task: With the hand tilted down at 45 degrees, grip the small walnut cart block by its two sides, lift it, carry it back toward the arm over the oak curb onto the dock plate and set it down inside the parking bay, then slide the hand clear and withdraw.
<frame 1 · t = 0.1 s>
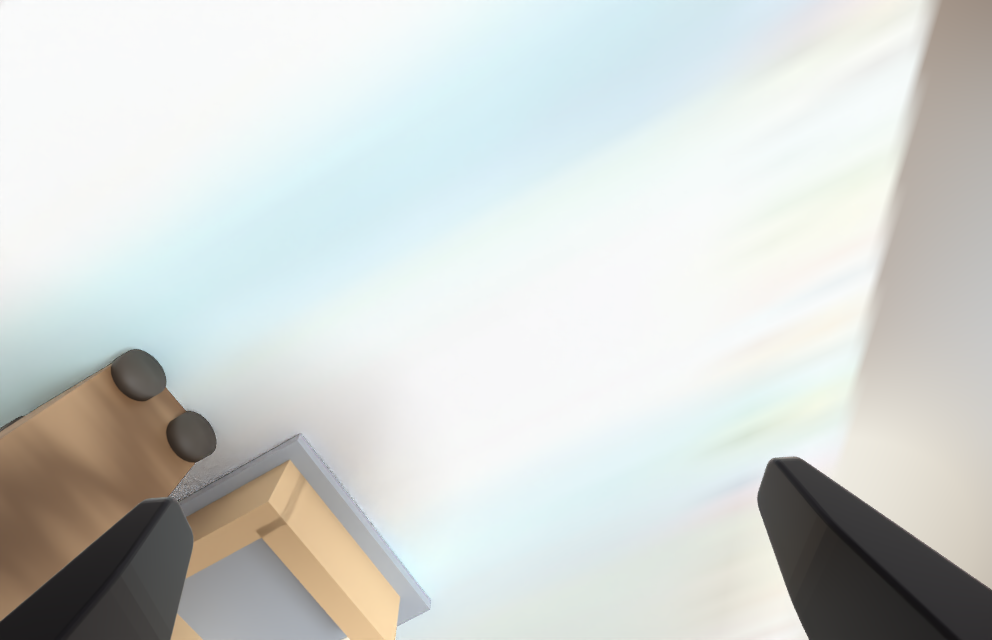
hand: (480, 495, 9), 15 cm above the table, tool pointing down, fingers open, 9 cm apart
dock: (305, 625, 29), on the table
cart: (126, 424, 25), on the table
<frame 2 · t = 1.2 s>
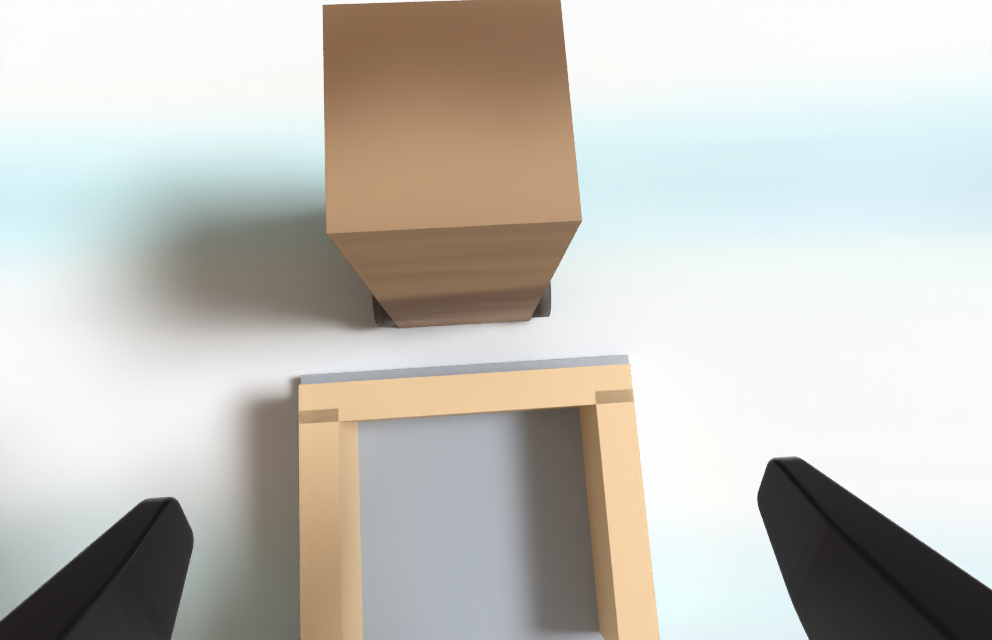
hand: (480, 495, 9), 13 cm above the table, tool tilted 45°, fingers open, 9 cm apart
dock: (481, 617, 20), on the table
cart: (460, 261, 23), on the table
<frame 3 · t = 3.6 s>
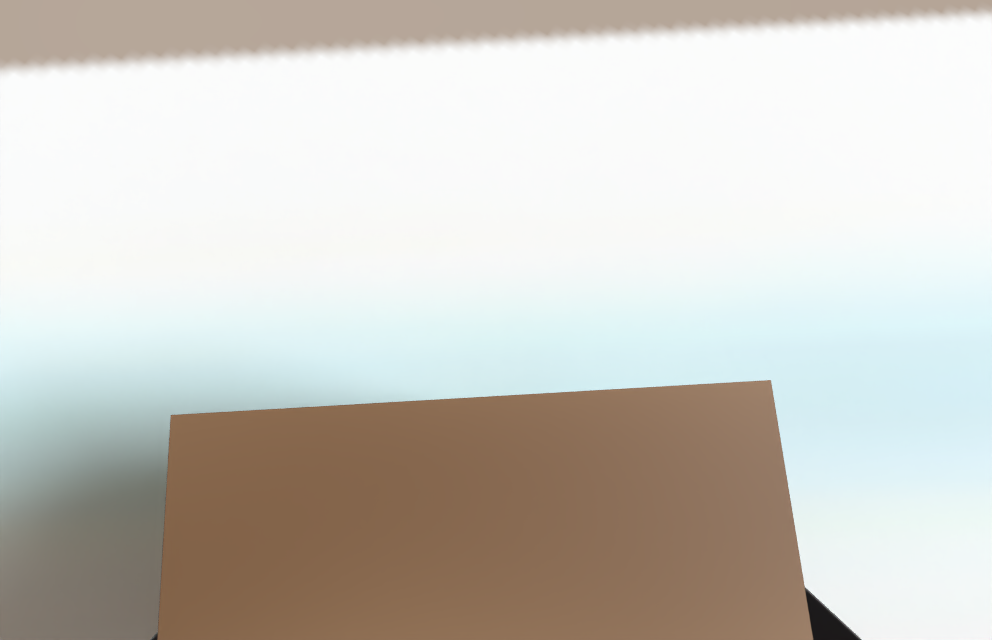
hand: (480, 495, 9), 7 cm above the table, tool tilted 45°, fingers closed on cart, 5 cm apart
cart: (481, 530, 15), on the table, touching gripper
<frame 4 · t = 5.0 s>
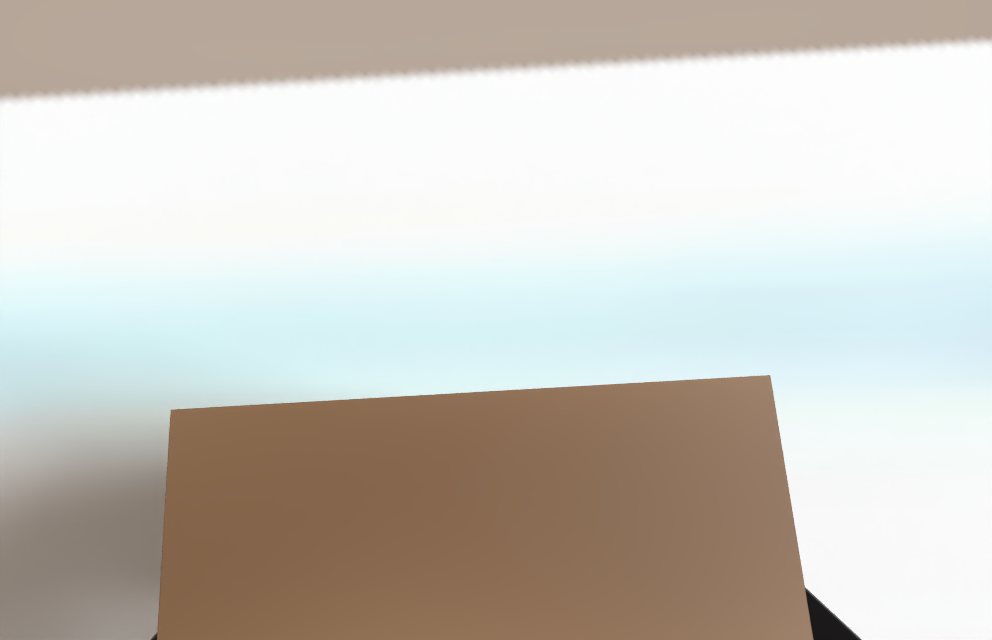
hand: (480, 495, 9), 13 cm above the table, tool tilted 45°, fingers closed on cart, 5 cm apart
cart: (481, 529, 15), point 6 cm above the table, touching gripper
when the fingers open (7 cm above the table, at t = 6.9 s): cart stays where it is, resting on dock.
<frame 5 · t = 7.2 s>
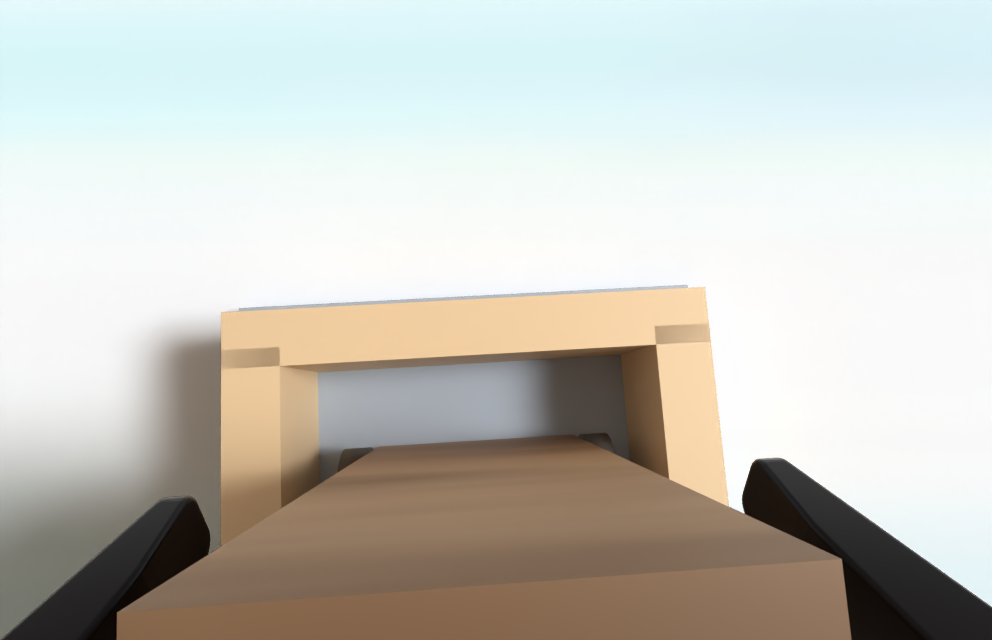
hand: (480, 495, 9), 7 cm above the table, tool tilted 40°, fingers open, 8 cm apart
dock: (485, 635, 15), on the table
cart: (481, 540, 15), point 1 cm above the table, touching dock
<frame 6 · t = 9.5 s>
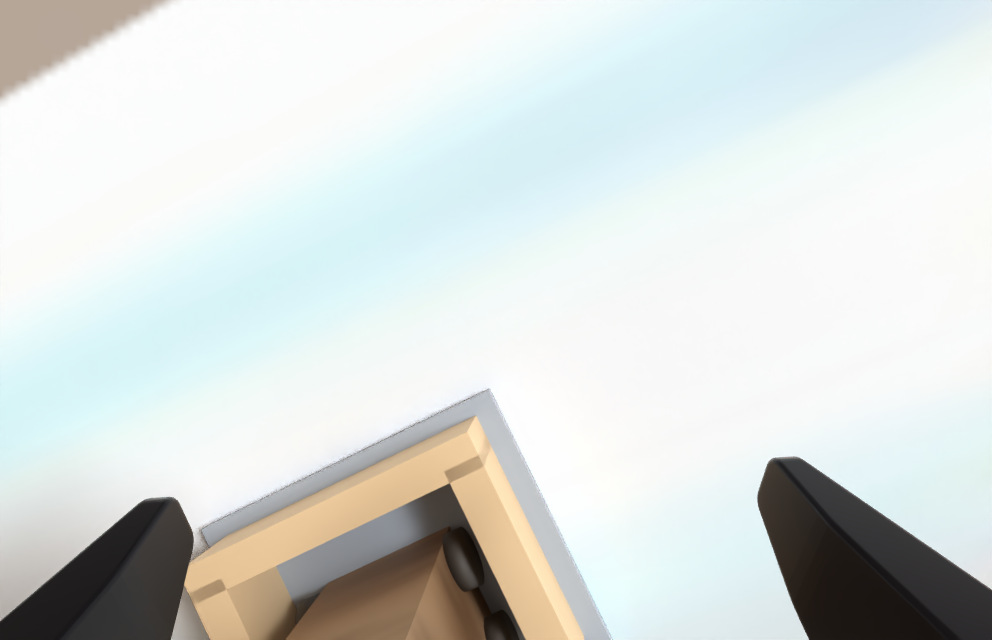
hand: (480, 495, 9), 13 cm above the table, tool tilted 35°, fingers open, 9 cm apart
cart: (418, 616, 21), point 1 cm above the table, touching dock
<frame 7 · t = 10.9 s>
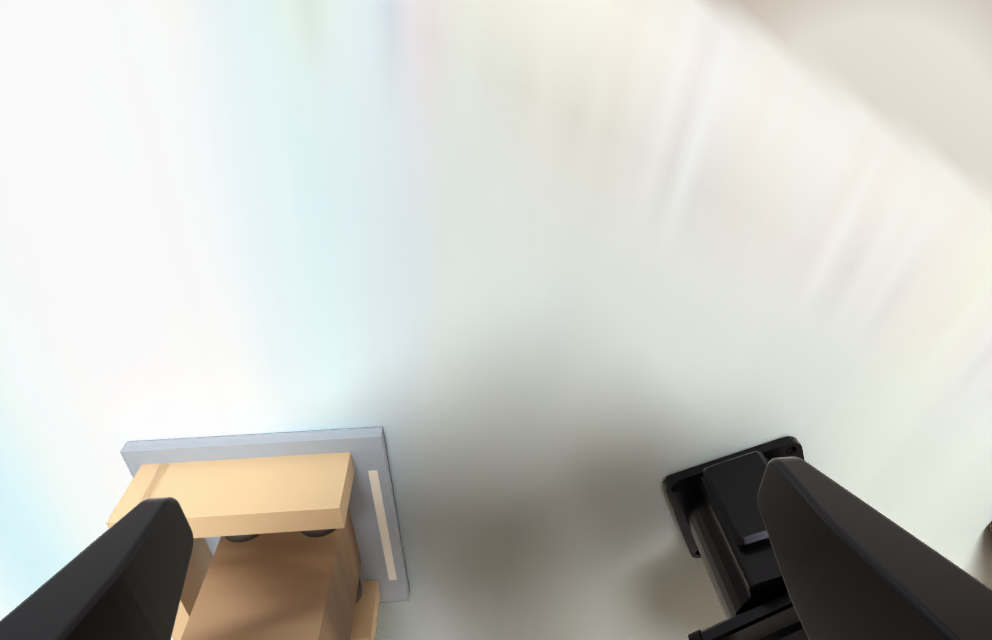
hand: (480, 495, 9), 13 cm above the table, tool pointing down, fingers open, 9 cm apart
dock: (356, 520, 28), on the table
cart: (301, 534, 28), point 1 cm above the table, touching dock
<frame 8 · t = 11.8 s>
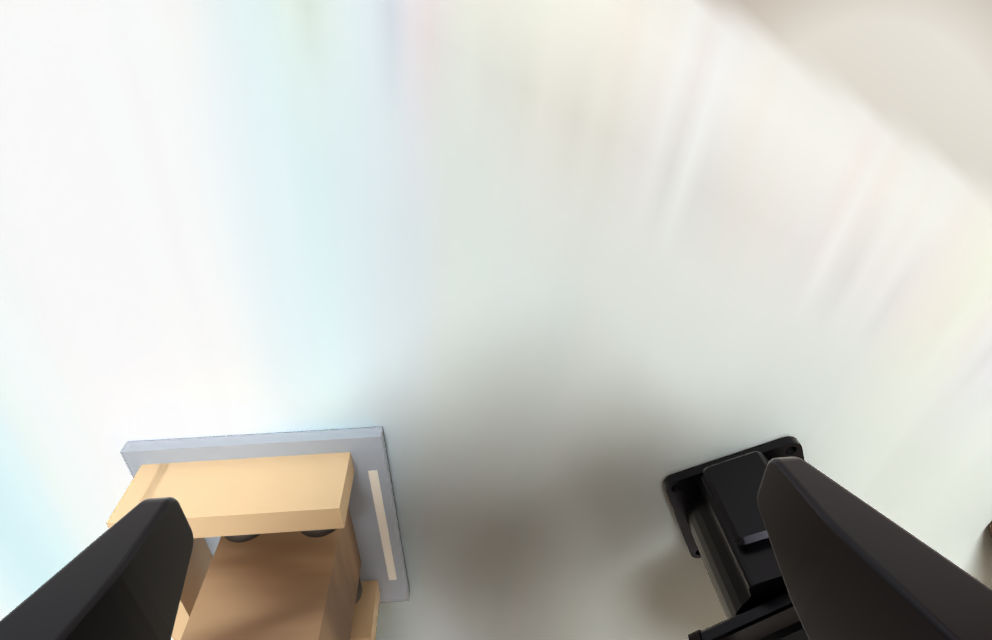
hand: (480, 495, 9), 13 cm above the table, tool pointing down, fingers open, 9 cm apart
dock: (356, 520, 28), on the table
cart: (301, 534, 28), point 1 cm above the table, touching dock
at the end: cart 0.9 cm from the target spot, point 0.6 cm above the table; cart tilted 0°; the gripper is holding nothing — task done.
